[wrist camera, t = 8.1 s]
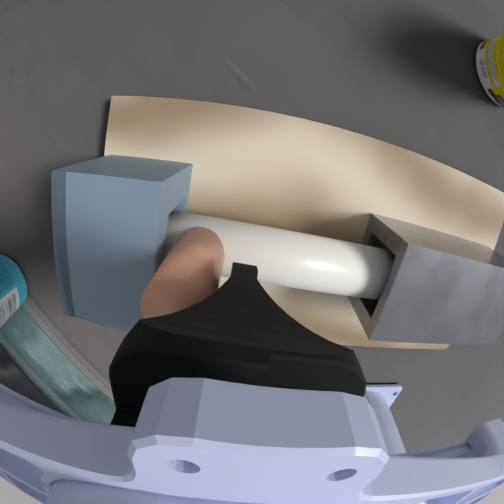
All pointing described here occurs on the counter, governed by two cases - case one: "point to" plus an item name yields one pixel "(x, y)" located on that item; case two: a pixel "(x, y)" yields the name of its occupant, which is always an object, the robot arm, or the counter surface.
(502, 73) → the supplement bottle
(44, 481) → the robot arm
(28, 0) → the counter surface
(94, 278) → the socket
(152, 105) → the base board
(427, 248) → the sleeve
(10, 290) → the tube
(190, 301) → the sliding bolt
